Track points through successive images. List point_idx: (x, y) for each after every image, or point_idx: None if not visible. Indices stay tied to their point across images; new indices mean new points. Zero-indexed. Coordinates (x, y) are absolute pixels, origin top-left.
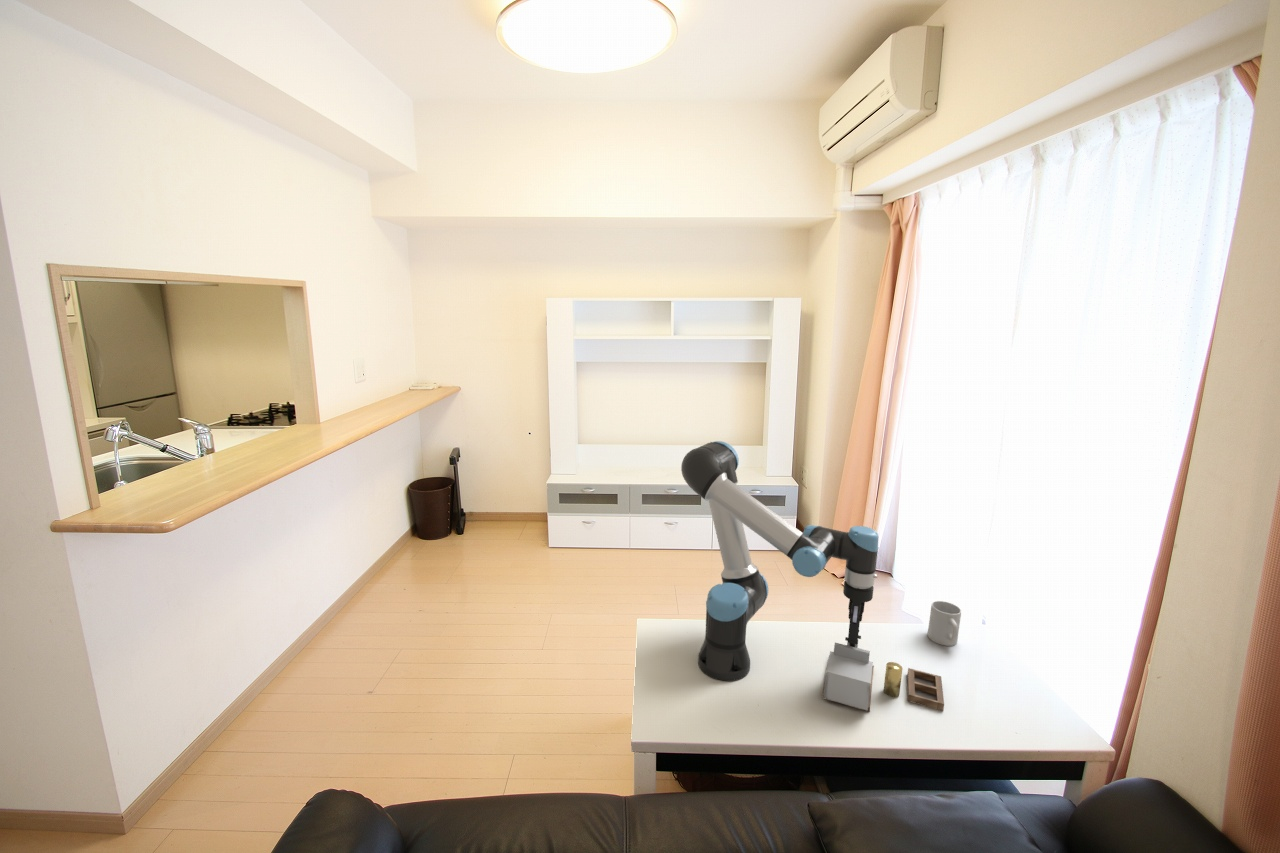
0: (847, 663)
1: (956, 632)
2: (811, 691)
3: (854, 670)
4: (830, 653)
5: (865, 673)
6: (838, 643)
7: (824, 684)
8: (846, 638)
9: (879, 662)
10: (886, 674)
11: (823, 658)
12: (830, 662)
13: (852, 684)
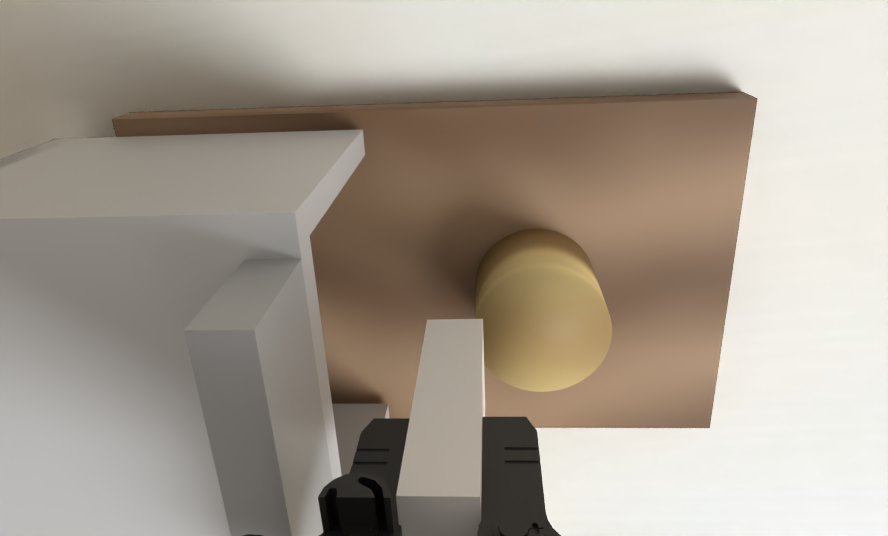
0: (162, 413)
1: None
2: (156, 17)
3: (88, 477)
4: (239, 222)
5: None
6: (254, 378)
7: (248, 116)
8: (349, 511)
9: (811, 440)
10: None
11: (711, 29)
12: (45, 247)
13: None
